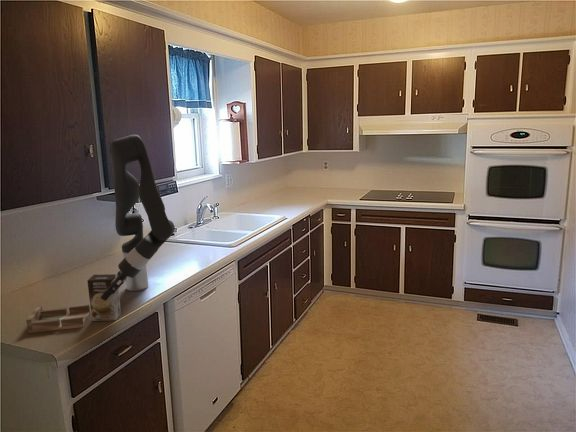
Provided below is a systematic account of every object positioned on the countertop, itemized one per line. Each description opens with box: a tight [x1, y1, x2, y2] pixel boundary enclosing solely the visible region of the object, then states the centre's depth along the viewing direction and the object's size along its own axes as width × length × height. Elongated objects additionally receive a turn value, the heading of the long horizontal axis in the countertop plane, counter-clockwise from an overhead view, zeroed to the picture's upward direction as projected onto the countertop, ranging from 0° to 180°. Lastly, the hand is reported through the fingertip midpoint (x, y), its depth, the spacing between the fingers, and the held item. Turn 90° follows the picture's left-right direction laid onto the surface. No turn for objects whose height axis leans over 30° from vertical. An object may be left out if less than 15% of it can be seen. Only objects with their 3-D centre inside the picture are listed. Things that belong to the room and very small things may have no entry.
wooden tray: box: [25, 304, 91, 334], centre depth 162 cm, size 12×18×5 cm, turn 102°
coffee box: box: [87, 273, 122, 322], centre depth 164 cm, size 9×6×16 cm
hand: (104, 295), depth 164 cm, fingers closed on coffee box, 7 cm apart
